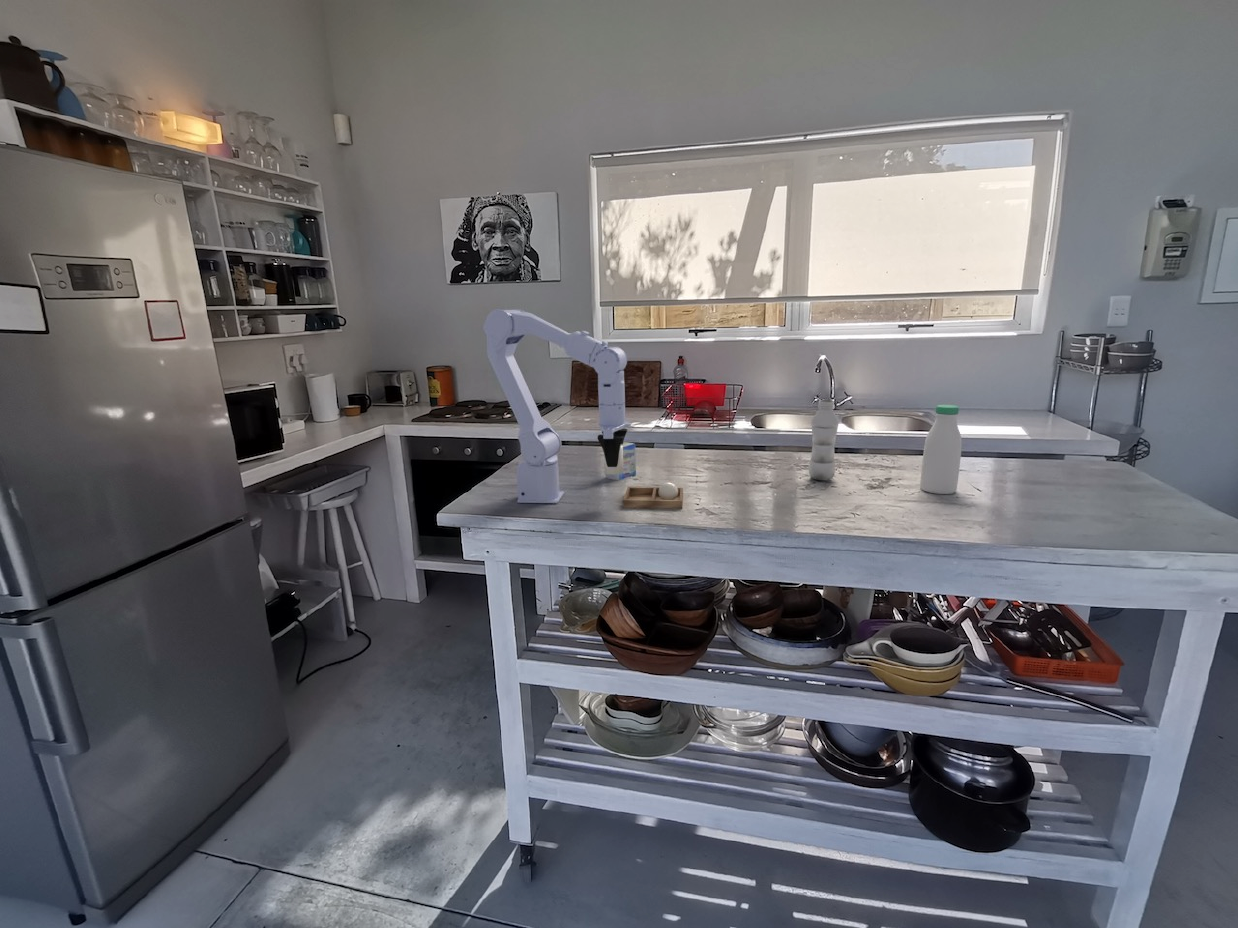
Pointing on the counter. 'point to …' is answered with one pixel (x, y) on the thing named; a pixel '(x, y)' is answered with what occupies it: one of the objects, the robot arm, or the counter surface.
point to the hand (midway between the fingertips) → (613, 463)
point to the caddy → (650, 498)
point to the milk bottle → (942, 453)
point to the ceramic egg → (668, 491)
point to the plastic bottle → (823, 441)
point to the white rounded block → (619, 467)
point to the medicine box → (626, 462)
